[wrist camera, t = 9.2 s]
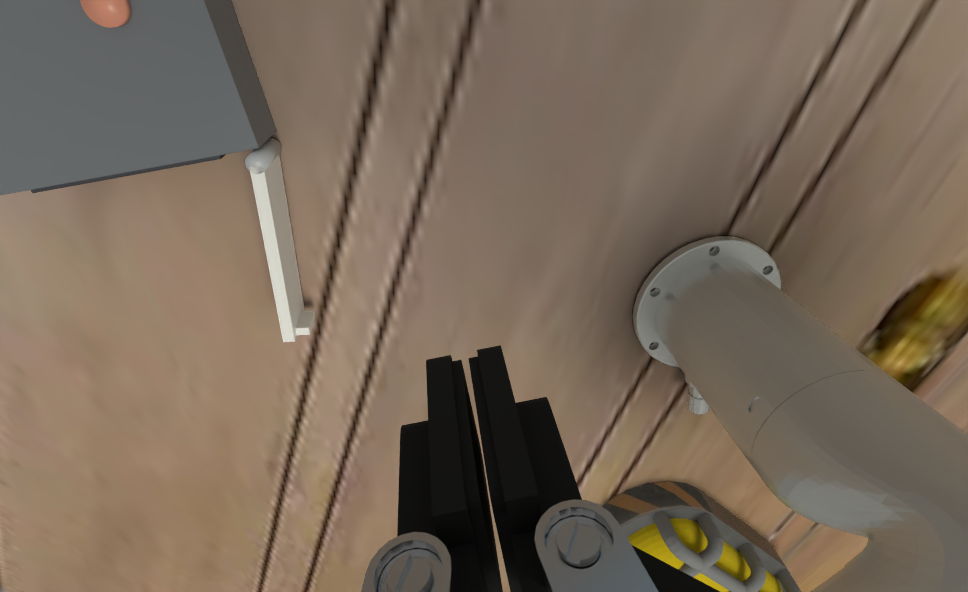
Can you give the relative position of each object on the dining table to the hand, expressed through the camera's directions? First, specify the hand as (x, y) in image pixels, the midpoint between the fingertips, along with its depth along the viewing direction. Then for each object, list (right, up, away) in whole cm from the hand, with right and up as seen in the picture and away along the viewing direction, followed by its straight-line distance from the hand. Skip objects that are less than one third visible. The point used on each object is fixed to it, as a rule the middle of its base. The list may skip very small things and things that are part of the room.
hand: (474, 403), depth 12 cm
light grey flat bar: (-14, +7, +25) cm, 30 cm away
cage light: (+25, -28, +52) cm, 64 cm away
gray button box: (-22, +17, +19) cm, 33 cm away
